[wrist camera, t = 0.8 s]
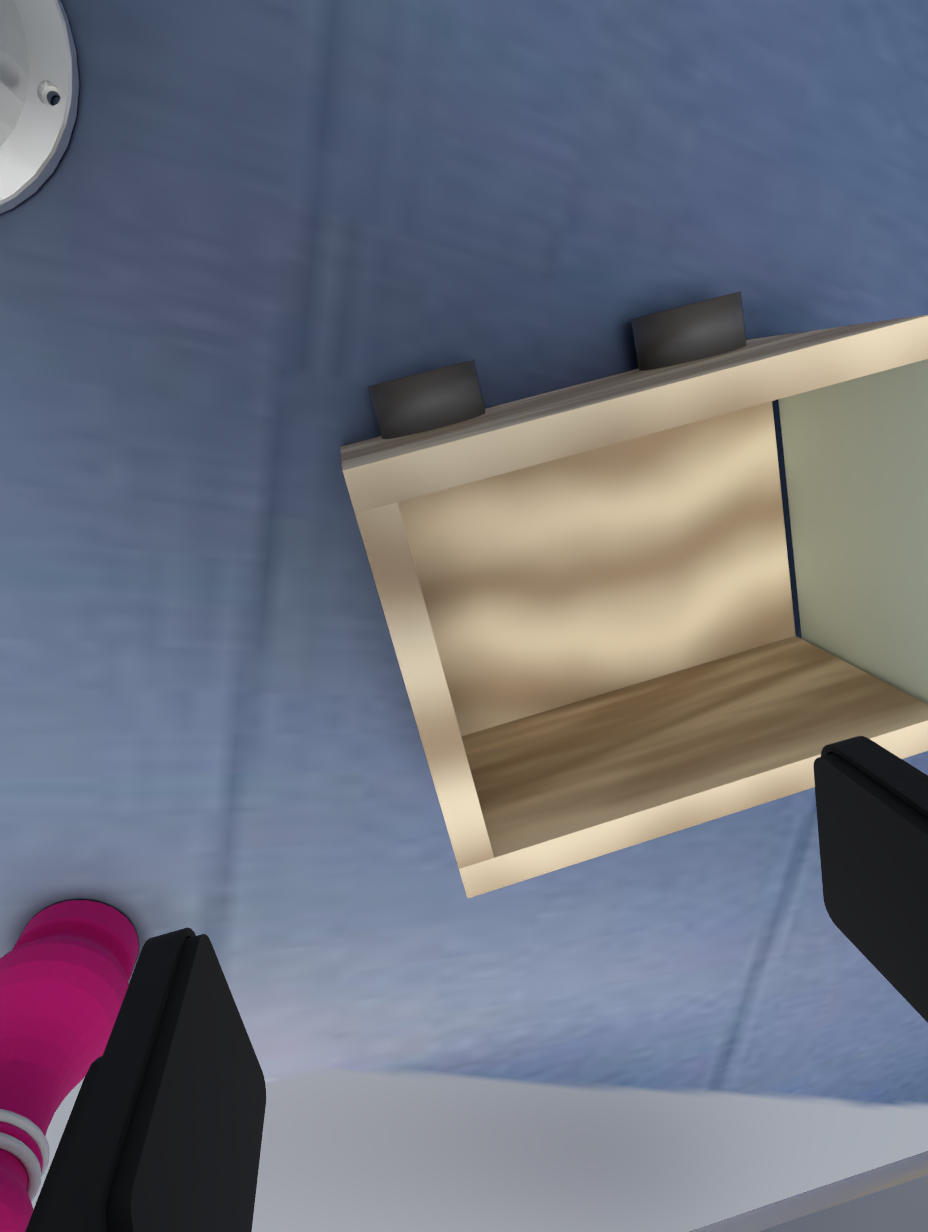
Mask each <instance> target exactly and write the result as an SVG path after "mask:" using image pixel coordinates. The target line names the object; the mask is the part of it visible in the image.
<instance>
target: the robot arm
mask: <svg viewBox="0 0 928 1232" xmlns="http://www.w3.org/2000/svg"><path fill="white" fill-rule="evenodd" d="M78 93H79V77H78V66H77V54H76V48H75V44H74V40H73V37H72V33H71V29H70V25H69V21H68V17H67V14H66V12H65V10H64V8H63V5H62V3H61V1H60V0H0V214H1V213H3V212H6V211H8V210H11V209H13V208H14V207H15V206H17V205H18V204H20V203H21V202H23V201H24V200H25V199H27V198H28V197H30V196H31V195H33V194H34V193H35V192H36V191H37V190H38V189H39V188H40V187H41V185H42V184H43V183H44V182H45V181H46V180H47V179H48V178H49V176H50V175H51V174H52V173H53V172H54V170H55V168H56V167H57V165H58V163H59V161H60V159H61V157H62V156H63V154H64V152H65V150H66V148H67V146H68V143H69V140H70V136H71V133H72V130H73V126H74V123H75V120H76V114H77V104H78ZM54 95H59V96H60V97H61V98H60V101H59V103H58V104H56V105H54V106H52V105H51V98H52V97H53V96H54ZM814 781H815V794H816V806H817V819H818V832H819V845H820V857H821V870H822V883H823V895H824V903H825V906H826V909H827V912H828V914H829V916H830V918H831V919H832V921H833V922H834V924H835V925H836V926H837V927H838V928H839V929H840V930H841V931H842V933H843V934H844V935H845V936H846V937H847V938H848V939H849V940H850V941H851V942H852V943H853V944H854V945H855V946H856V947H857V948H858V949H859V950H860V952H861V953H862V954H863V955H864V956H865V957H866V958H867V959H868V960H869V961H870V962H871V963H872V964H873V965H874V966H875V967H876V968H877V970H878V971H879V972H880V973H881V974H882V975H883V976H884V977H885V978H886V979H887V980H888V981H889V982H890V983H891V984H892V985H893V986H894V987H895V989H896V990H897V991H898V992H899V993H900V994H901V995H902V996H903V997H904V998H905V999H906V1000H907V1001H908V1002H909V1003H910V1004H911V1005H912V1007H913V1008H914V1009H915V1010H916V1011H917V1012H918V1013H919V1014H920V1015H921V1016H922V1017H923V1018H924V1019H925V1020H926V1021H927V1022H928V776H927V775H926V774H924V773H922V772H921V771H919V770H918V769H916V768H915V767H913V766H911V765H910V764H908V763H907V762H905V761H904V760H902V759H900V758H899V757H897V756H896V755H894V754H893V753H891V752H889V751H888V750H886V749H885V748H883V747H881V746H880V745H878V744H877V743H875V742H874V741H872V740H870V739H869V738H867V737H864V736H856V737H853V738H849V739H846V740H842V741H839V742H835V743H832V744H828V745H826V746H824V747H823V749H822V751H821V757H818V758H817V759H815V761H814ZM265 1105H266V1088H265V1081H264V1076H263V1073H262V1070H261V1067H260V1065H259V1062H258V1059H257V1057H256V1054H255V1052H254V1049H253V1047H252V1044H251V1042H250V1039H249V1037H248V1034H247V1032H246V1029H245V1027H244V1024H243V1022H242V1019H241V1017H240V1014H239V1012H238V1009H237V1007H236V1004H235V1002H234V999H233V997H232V994H231V992H230V989H229V987H228V984H227V982H226V979H225V976H224V974H223V971H222V969H221V966H220V964H219V961H218V959H217V956H216V954H215V951H214V949H213V946H212V944H211V941H210V939H209V937H208V936H207V935H206V934H202V935H198V936H196V935H195V933H194V932H193V930H192V929H191V928H184V929H181V930H177V931H174V932H170V933H167V934H163V935H160V936H156V937H153V938H150V939H148V940H147V941H146V942H145V944H144V946H143V948H142V951H141V954H140V956H139V959H138V962H137V964H136V967H135V970H134V973H133V975H132V978H131V981H130V983H129V986H128V989H127V991H126V994H125V997H124V999H123V1002H122V1005H121V1007H120V1010H119V1013H118V1016H117V1018H116V1021H115V1024H114V1026H113V1029H112V1032H111V1034H110V1037H109V1040H108V1042H107V1045H106V1048H105V1051H104V1053H103V1056H100V1057H98V1058H97V1059H96V1060H95V1061H94V1062H93V1063H92V1064H91V1066H90V1068H89V1070H88V1071H87V1073H86V1076H85V1078H84V1081H83V1083H82V1086H81V1089H80V1091H79V1094H78V1096H77V1099H76V1101H75V1104H74V1107H73V1110H72V1112H71V1115H70V1117H69V1120H68V1122H67V1125H66V1128H65V1130H64V1133H63V1135H62V1138H61V1141H60V1143H59V1145H58V1148H57V1151H56V1153H55V1156H54V1159H53V1161H52V1164H51V1166H50V1169H49V1171H48V1174H47V1176H46V1179H45V1182H44V1184H43V1187H42V1189H41V1192H40V1195H39V1197H38V1200H37V1202H36V1205H35V1208H34V1210H33V1213H32V1215H31V1218H30V1221H29V1223H28V1226H27V1228H26V1231H25V1232H251V1230H252V1221H253V1212H254V1203H255V1194H256V1185H257V1176H258V1168H259V1159H260V1150H261V1149H260V1148H261V1141H262V1132H263V1123H264V1114H265ZM690 1232H928V1151H927V1152H924V1153H921V1154H918V1155H915V1156H912V1157H909V1158H906V1159H903V1160H900V1161H897V1162H894V1163H891V1164H888V1165H885V1166H882V1167H879V1168H876V1169H873V1170H870V1171H867V1172H864V1173H861V1174H858V1175H855V1176H852V1177H849V1178H846V1179H843V1180H840V1181H837V1182H834V1183H831V1184H828V1185H825V1186H822V1187H819V1188H816V1189H813V1190H810V1191H807V1192H804V1193H802V1194H799V1195H796V1196H793V1197H790V1198H787V1199H784V1200H781V1201H778V1202H775V1203H772V1204H769V1205H766V1206H764V1207H761V1208H758V1209H755V1210H752V1211H749V1212H746V1213H743V1214H740V1215H737V1216H734V1217H731V1218H729V1219H725V1220H722V1221H719V1222H717V1223H714V1224H711V1225H708V1226H705V1227H702V1228H699V1229H696V1230H693V1231H690Z"/></svg>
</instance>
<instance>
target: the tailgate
mask: <svg viewBox="0 0 928 1232" xmlns="http://www.w3.org/2000/svg"><path fill="white" fill-rule="evenodd" d="M778 400H779V410H780V420H781V431H782V441H783V451H784V461H785V472H786V482H787V492H788V502H789V513H790V523H791V533H792V543H793V554H794V564H795V574H796V584H797V595H798V605H799V615H800V625H801V636H802V639H803V640H805V641H807V642H809V643H810V644H812V645H814V646H816V647H818V648H820V649H822V650H824V651H826V652H828V653H830V654H832V655H834V656H835V657H837V658H839V659H841V660H843V661H845V662H847V663H849V664H851V665H853V666H855V667H857V668H859V669H860V670H862V671H864V672H866V673H868V674H870V675H872V676H874V677H876V678H878V679H880V680H882V681H884V682H885V683H887V684H889V685H891V686H893V687H895V688H897V689H899V690H901V691H903V692H905V693H907V694H909V695H910V696H912V697H914V698H916V699H918V700H920V701H922V702H924V703H926V704H928V359H925V360H922V361H918V362H914V363H911V364H907V365H903V366H900V367H896V368H892V369H889V370H885V371H881V372H877V373H874V374H870V375H866V376H863V377H859V378H855V379H852V380H848V381H844V382H840V383H837V384H833V385H829V386H826V387H822V388H818V389H815V390H811V391H807V392H803V393H800V394H796V395H792V396H789V397H785V398H781V399H778Z"/></svg>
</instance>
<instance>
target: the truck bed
mask: <svg viewBox="0 0 928 1232" xmlns="http://www.w3.org/2000/svg"><path fill="white" fill-rule="evenodd" d="M631 322H632V328H633V334H634V341H635V347H636V354H637V360H638V367H639V368H638V369H634V370H631V371H627V372H623V373H619V374H615V375H611V376H608V377H604V378H600V379H596V380H592V381H589V382H585V383H581V384H577V385H573V386H569V387H566V388H562V389H558V390H554V391H550V392H546V393H543V394H539V395H535V396H531V397H527V398H524V399H520V400H516V401H512V402H508V403H504V404H501V405H497V406H493V407H489V408H484V404H483V399H482V395H481V390H480V386H479V382H478V377H477V373H476V368H475V364H474V360H470V361H466V362H462V363H458V364H455V365H451V366H447V367H443V368H439V369H435V370H431V371H427V372H423V373H419V374H415V375H411V376H407V377H404V378H400V379H396V380H392V381H388V382H384V383H380V384H376V385H372V386H369V387H368V389H369V392H370V396H371V400H372V404H373V407H374V411H375V415H376V418H377V422H378V426H379V429H380V433H381V436H378V437H375V438H371V439H367V440H363V441H359V442H355V443H352V444H348V445H344V446H340V450H341V461H342V471H343V474H344V478H345V481H346V484H347V488H348V491H349V495H350V498H351V502H352V505H353V508H354V512H355V515H356V519H357V522H358V525H359V529H360V532H361V536H362V539H363V542H364V546H365V549H366V553H367V556H368V560H369V563H370V566H371V570H372V573H373V577H374V580H375V583H376V587H377V590H378V594H379V597H380V601H381V604H382V607H383V611H384V614H385V618H386V621H387V624H388V628H389V631H390V635H391V638H392V642H393V645H394V648H395V652H396V655H397V659H398V662H399V665H400V669H401V672H402V676H403V679H404V683H405V686H406V689H407V693H408V696H409V700H410V703H411V706H412V710H413V713H414V717H415V720H416V724H417V727H418V730H419V734H420V737H421V741H422V744H423V747H424V751H425V754H426V758H427V761H428V765H429V768H430V771H431V775H432V778H433V782H434V785H435V788H436V792H437V795H438V799H439V802H440V806H441V809H442V812H443V816H444V819H445V823H446V826H447V829H448V833H449V836H450V840H451V843H452V847H453V850H454V853H455V857H456V860H457V864H458V867H459V870H460V874H461V877H462V881H463V884H464V887H465V891H466V894H467V898H471V897H474V896H477V895H480V894H483V893H486V892H489V891H492V890H495V889H499V888H502V887H505V886H508V885H511V884H514V883H517V882H520V881H523V880H527V879H530V878H533V877H536V876H539V875H542V874H545V873H548V872H551V871H555V870H558V869H561V868H564V867H567V866H570V865H573V864H576V863H579V862H583V861H586V860H589V859H592V858H595V857H598V856H601V855H604V854H607V853H611V852H614V851H617V850H620V849H623V848H626V847H629V846H632V845H635V844H639V843H642V842H645V841H648V840H651V839H654V838H657V837H660V836H664V835H667V834H670V833H673V832H676V831H679V830H682V829H685V828H688V827H692V826H695V825H698V824H701V823H704V822H707V821H710V820H713V819H716V818H720V817H723V816H726V815H729V814H732V813H735V812H738V811H741V810H744V809H748V808H751V807H754V806H757V805H760V804H763V803H766V802H769V801H772V800H776V799H779V798H782V797H785V796H788V795H791V794H794V793H797V792H800V791H804V790H807V789H810V788H813V787H815V781H814V761H815V759H817V758H818V757H821V751H822V749H823V747H824V746H826V745H828V744H832V743H835V742H839V741H842V740H846V739H849V738H853V737H856V736H864V737H867V738H869V739H870V740H872V741H874V742H875V743H877V744H878V745H880V746H881V747H883V748H885V749H886V750H888V751H889V752H891V753H893V754H894V755H896V756H897V757H899V758H900V759H903V758H906V757H909V756H912V755H916V754H919V753H922V752H925V751H928V704H926V703H924V702H922V701H920V700H918V699H916V698H914V697H912V696H910V695H909V694H907V693H905V692H903V691H901V690H899V689H897V688H895V687H893V686H891V685H889V684H887V683H885V682H884V681H882V680H880V679H878V678H876V677H874V676H872V675H870V674H868V673H866V672H864V671H862V670H860V669H859V668H857V667H855V666H853V665H851V664H849V663H847V662H845V661H843V660H841V659H839V658H837V657H835V656H834V655H832V654H830V653H828V652H826V651H824V650H822V649H820V648H818V647H816V646H814V645H812V644H810V643H809V642H807V641H805V640H803V639H801V638H799V637H797V636H796V635H795V625H794V615H793V605H792V595H791V585H790V575H789V565H788V555H787V545H786V535H785V525H784V515H783V505H782V495H781V485H780V476H779V466H778V456H777V446H776V436H775V426H774V416H773V406H772V401H774V400H778V399H781V398H785V397H789V396H792V395H796V394H800V393H803V392H807V391H811V390H815V389H818V388H822V387H826V386H829V385H833V384H837V383H840V382H844V381H848V380H852V379H855V378H859V377H863V376H866V375H870V374H874V373H877V372H881V371H885V370H889V369H892V368H896V367H900V366H903V365H907V364H911V363H914V362H918V361H922V360H925V359H928V315H923V316H915V317H908V318H901V319H894V320H886V321H879V322H872V323H864V324H857V325H850V326H843V327H835V328H828V329H821V330H814V331H806V332H799V333H792V334H785V335H777V336H770V337H763V338H756V339H749V340H746V337H745V328H744V319H743V309H742V300H741V291H740V292H736V293H733V294H729V295H725V296H721V297H717V298H713V299H709V300H705V301H701V302H697V303H693V304H689V305H686V306H682V307H678V308H674V309H670V310H666V311H662V312H658V313H654V314H650V315H647V316H643V317H639V318H635V319H631Z"/></svg>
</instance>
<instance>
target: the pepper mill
mask: <svg viewBox="0 0 928 1232" xmlns="http://www.w3.org/2000/svg"><path fill="white" fill-rule="evenodd" d="M138 950H139V943H138V936H137V934H136V931H135V929H134V927H133V925H132V924H131V923H130V921H129V920H128V919H127V918H126V916H124V915H123V914H121V913H120V912H119V911H117V910H116V909H115V908H113V907H110V906H108V905H106V904H103V903H100V902H95V901H90V900H69V901H65V902H61V903H57V904H54V905H52V906H50V907H48V908H46V909H44V910H42V911H41V912H39V913H38V914H36V915H35V916H34V917H33V918H32V919H31V920H30V922H29V923H28V924H27V926H26V927H25V929H24V931H23V932H22V934H21V936H20V938H19V939H18V941H17V943H16V944H15V946H14V948H13V950H12V951H10V952H9V953H7V954H6V955H5V956H3V957H2V958H1V959H0V1232H25V1231H26V1228H27V1226H28V1223H29V1221H30V1218H31V1215H32V1213H33V1207H32V1204H31V1201H32V1200H33V1198H34V1197H35V1195H36V1194H37V1192H38V1189H39V1186H40V1183H41V1177H42V1175H43V1174H44V1172H45V1170H46V1168H47V1165H48V1162H49V1145H48V1142H47V1139H46V1137H45V1135H46V1131H47V1129H48V1126H49V1124H50V1122H51V1120H52V1117H53V1115H54V1112H55V1111H56V1110H57V1108H58V1107H59V1105H60V1104H61V1102H62V1101H63V1099H64V1098H65V1097H66V1096H67V1095H68V1093H69V1092H70V1091H71V1090H72V1089H73V1088H74V1087H75V1086H76V1085H77V1084H78V1083H79V1082H80V1081H81V1080H82V1079H83V1078H84V1077H85V1076H86V1073H87V1071H88V1070H89V1068H90V1066H91V1064H92V1063H93V1062H94V1061H95V1060H96V1059H97V1058H98V1057H100V1056H103V1053H104V1051H105V1048H106V1045H107V1042H108V1040H109V1037H110V1034H111V1032H112V1029H113V1026H114V1024H115V1021H116V1018H117V1016H118V1013H119V1010H120V1007H121V1005H122V1002H123V999H124V997H125V994H126V991H127V989H128V986H129V983H128V980H129V979H130V976H131V973H132V970H133V967H134V965H135V962H136V959H137V955H138Z"/></svg>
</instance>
